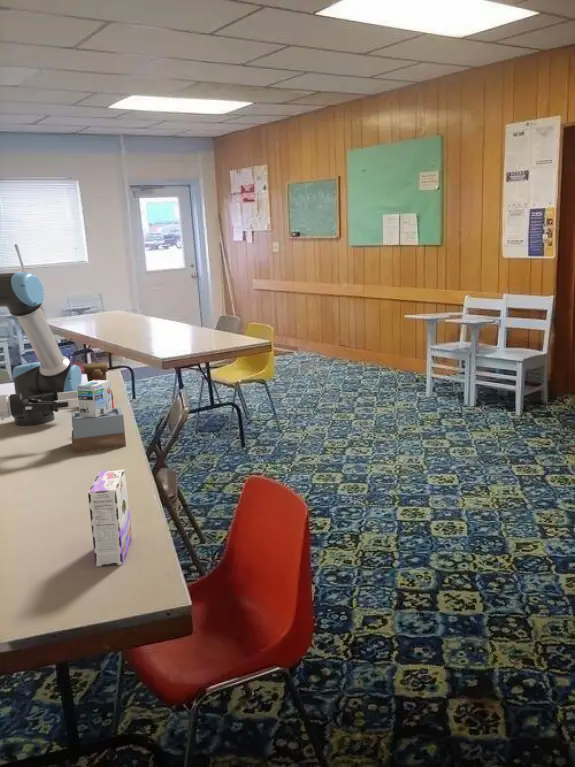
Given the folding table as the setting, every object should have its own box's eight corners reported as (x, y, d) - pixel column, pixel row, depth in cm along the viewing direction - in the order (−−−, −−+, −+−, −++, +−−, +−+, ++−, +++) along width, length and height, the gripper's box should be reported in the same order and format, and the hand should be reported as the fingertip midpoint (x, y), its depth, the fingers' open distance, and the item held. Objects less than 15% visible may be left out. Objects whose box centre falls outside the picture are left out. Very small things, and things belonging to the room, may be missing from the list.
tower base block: (73, 444, 239) (71, 430, 239) (123, 438, 244) (122, 424, 243) (73, 454, 227) (71, 439, 226) (126, 447, 232) (124, 433, 231)
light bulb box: (96, 418, 228) (93, 385, 226) (78, 417, 230) (76, 385, 228) (113, 410, 238) (111, 379, 236) (96, 409, 240) (93, 379, 238)
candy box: (106, 540, 156) (98, 470, 152) (132, 538, 156) (125, 468, 153) (94, 567, 142) (86, 491, 139) (123, 565, 142) (115, 489, 139)
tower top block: (73, 430, 238) (71, 413, 237) (121, 424, 243) (120, 407, 242) (73, 439, 227) (71, 420, 226) (124, 432, 232) (123, 414, 230)
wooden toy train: (85, 400, 310) (81, 364, 307) (111, 398, 313) (107, 361, 310) (87, 409, 291) (83, 371, 288) (115, 406, 295) (111, 368, 292)
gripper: (13, 409, 237) (78, 402, 243) (9, 425, 213) (80, 417, 220) (11, 388, 235) (76, 381, 242) (6, 402, 212) (78, 394, 218)
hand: (78, 398), depth 231 cm, fingers open, 13 cm apart
